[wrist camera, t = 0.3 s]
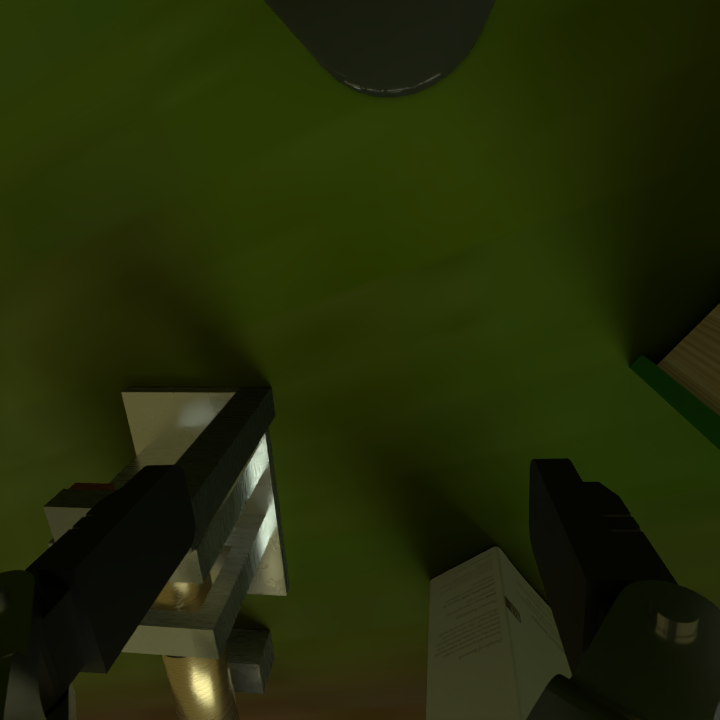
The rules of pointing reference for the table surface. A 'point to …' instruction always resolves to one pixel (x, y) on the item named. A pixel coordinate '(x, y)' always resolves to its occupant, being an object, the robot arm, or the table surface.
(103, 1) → the table surface
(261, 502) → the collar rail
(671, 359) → the hardback book
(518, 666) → the skincare box
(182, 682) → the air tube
